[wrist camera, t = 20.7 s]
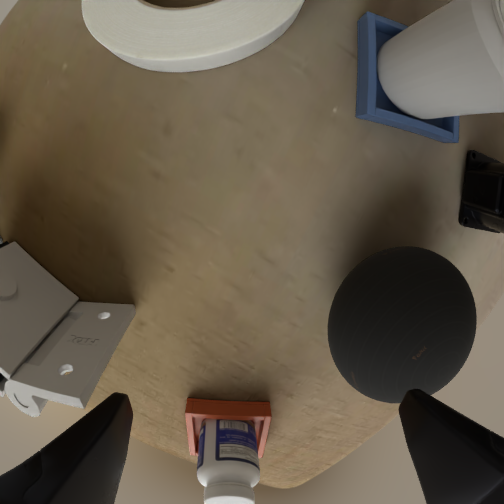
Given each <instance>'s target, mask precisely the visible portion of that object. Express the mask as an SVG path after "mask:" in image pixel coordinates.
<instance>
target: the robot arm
mask: <svg viewBox="0 0 504 504" xmlns="http://www.w3.org/2000/svg"><path fill="white" fill-rule="evenodd" d="M472 155H473V157H472ZM464 219H465V220H464ZM459 223H460V225H462V226H465V227H470V228H475V229H481V230H486V231H491V232H495V233H500V232H502V233H504V164H503V163H501V162H499V161H497V160H495V159H493V158H491V157H488V156H486V155H484V154H482V153H479V152H477V151H475V150H469V151H468V153H467V163H466V174H465V183H464V191H463V198H462V204H461V211H460V217H459ZM399 415H400V418H401V422H402V426H403V430H404V434H405V438H406V442H407V446H408V449H409V452H410V455H411V458H412V460H413V463H414V466H415V469H416V472H417V475H418V478H419V481H420V484H421V487H422V490H423V493H424V496H425V500H426V503H427V504H504V438H503V437H501V436H499V435H498V434H496V433H494V432H492V431H491V432H490V430H489V429H486V428H485V427H483V426H481V425H479V424H478V423H476V422H474V421H473V420H471V419H469V418H468V417H466V416H464V415H463V414H461V413H459V412H457V411H456V410H454V409H452V408H451V407H449V406H447V405H445V404H444V403H442V402H440V401H439V400H437V399H435V398H434V397H432V396H430V395H429V394H427V393H425V392H424V391H422V390H421V389H418V388H416V389H411V390H408V391H407V392H406V394H405V396H404V398H403V400H402V402H401V404H400V406H399ZM132 420H133V411H132V407H131V404H130V401H129V397H128V395H127V394H123V393H118V392H115V393H113V394H111V395H110V396H109V397H108V398H106V399H105V400H104V401H103V402H101V403H100V404H99V405H98V406H96V407H95V408H94V409H93V410H91V411H90V412H89V413H87V414H86V415H85V416H84V417H82V418H81V419H80V420H79V421H77V422H76V423H75V424H73V425H72V426H71V427H69V428H68V429H67V430H66V431H65V432H63V433H62V434H60V435H59V436H58V437H57V438H55V439H54V440H53V441H51V442H50V443H49V444H47V445H46V446H45V447H43V448H42V449H41V450H40V451H38V452H37V453H35V454H34V455H33V456H31V457H30V458H29V459H27V460H26V461H24V462H23V463H22V464H20V465H18V466H16V467H15V468H14V469H12V470H10V471H8V472H6V473H4V474H2V475H1V476H0V504H114V502H115V498H116V494H117V490H118V486H119V482H120V479H121V475H122V471H123V468H124V464H125V460H126V456H127V451H128V444H129V438H130V432H131V426H132Z"/></svg>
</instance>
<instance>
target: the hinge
mask: <svg viewBox="0 0 504 504" xmlns="http://www.w3.org/2000/svg"><path fill="white" fill-rule="evenodd" d="M78 299H79V297H77V296H76V295H75V294H74V293H72V292H71V291H70V290H69V289H67V288H66V287H65V286H64V285H63V284H61V283H60V282H59V281H58V280H57V279H55V278H54V277H53V276H52V275H51V274H50V273H48V272H47V271H46V270H45V269H44V268H43V267H42V266H41V265H39V264H38V263H37V262H36V261H35V260H34V259H33V258H32V257H31V256H30V255H29V254H28V253H26V252H25V251H24V250H23V249H22V248H21V247H20V246H19V245H18V244H17V243H16V242H15V241H14V242H12V243H9V242H8V241H6V242H4V243H2V244H0V396H1V397H3V396H4V395H5V394H7V395H8V397H9V399H10V400H11V402H13V404H14V405H15V406H16V407H18V408H19V409H20V410H21V411H22V412H24V413H26V414H28V415H30V416H32V417H37V416H39V415H40V413H41V411H42V409H43V408H44V406H45V404H46V403H47V401H48V400H51V401H54V402H58V403H62V404H66V405H70V406H74V407H79V408H83V409H85V407H86V405H87V403H88V401H89V399H90V397H91V395H92V393H93V391H94V389H95V387H96V385H97V383H98V381H99V379H100V377H101V375H102V373H103V371H104V370H105V368H106V366H107V364H108V362H109V360H110V358H111V357H112V355H113V353H114V351H115V349H116V347H117V346H118V344H119V342H120V340H121V339H122V337H123V335H124V333H125V331H126V330H127V328H128V326H129V324H130V323H131V321H132V319H133V318H134V316H135V314H136V312H135V306H134V305H133V304H112V303H94V302H78ZM68 371H72V372H71V373H70V374H68V375H64V374H65V372H68Z"/></svg>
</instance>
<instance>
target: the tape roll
mask: <svg viewBox="0 0 504 504" xmlns="http://www.w3.org/2000/svg"><path fill="white" fill-rule="evenodd" d="M304 1H305V0H215V1H212V2H209V3H206V4H202V5H197V6H191V7H183V8H168V7H161V6H156V5H152V4H150V3H148V2H146V1H144V0H82V14H83V19H84V21H85V24H86V26H87V28H88V30H89V31H90V33H91V34H92V35H93V37H94V38H95V39H96V40H97V41H99V42H100V43H101V44H102V45H103V46H105V47H106V48H107V49H108V50H110V51H111V52H112V53H113V54H115V55H116V56H118V57H119V58H121V59H122V60H124V61H126V62H128V63H130V64H132V65H134V66H138V67H141V68H144V69H148V70H153V71H161V72H191V71H200V70H207V69H212V68H217V67H221V66H224V65H228V64H231V63H234V62H236V61H239V60H241V59H244V58H246V57H248V56H251V55H253V54H255V53H256V52H258V51H260V50H262V49H264V48H265V47H267V46H268V45H270V44H271V43H272V42H274V41H275V40H276V39H278V38H279V37H280V36H281V35H282V34H283V33H284V32H285V31H286V30H287V29H288V28H289V27H290V26H291V24H292V23H293V22H294V20H295V18H296V17H297V15H298V13H299V11H300V9H301V7H302V5H303V3H304Z"/></svg>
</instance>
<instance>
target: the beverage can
mask: <svg viewBox="0 0 504 504" xmlns="http://www.w3.org/2000/svg"><path fill="white" fill-rule="evenodd" d="M376 62H377V75H378V78H379V81H380V83H381V86H382V88H383V90H384V92H385V93H386V95H387V96H388V98H389V99H390V100H391V101H392V103H393V104H394V105H395V106H396V107H397V108H399V109H400V110H401V111H402V112H404V113H405V114H407V115H409V116H411V117H414V118H417V119H433V118H441V117H450V116H460V115H470V114H483V113H499V112H504V0H454V1H452V2H450V3H448V4H446V5H445V6H443V7H441V8H439V9H438V10H436V11H434V12H432V13H431V14H429V15H427V16H426V17H424V18H422V19H421V20H419V21H418V22H416V23H414V24H413V25H411V26H410V27H408V28H406V29H405V30H403V31H402V32H400V33H399V34H397V35H396V36H394V37H393V38H391V39H390V40H388V41H387V42H385V43H384V44H383V45H382V46H381V48H380V50H379V52H378V55H377V60H376Z"/></svg>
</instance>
